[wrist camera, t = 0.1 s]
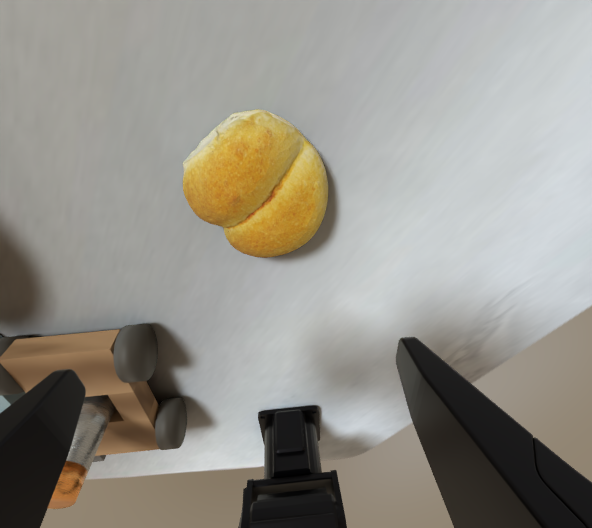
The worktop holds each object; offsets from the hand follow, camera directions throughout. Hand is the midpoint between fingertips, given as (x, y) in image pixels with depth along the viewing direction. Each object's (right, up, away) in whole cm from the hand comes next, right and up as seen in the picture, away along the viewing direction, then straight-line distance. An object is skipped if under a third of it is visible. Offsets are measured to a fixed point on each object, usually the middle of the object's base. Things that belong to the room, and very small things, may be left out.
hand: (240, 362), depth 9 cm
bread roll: (-1, +8, +13) cm, 15 cm away
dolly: (-16, -9, +22) cm, 29 cm away
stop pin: (-16, -8, +21) cm, 28 cm away
